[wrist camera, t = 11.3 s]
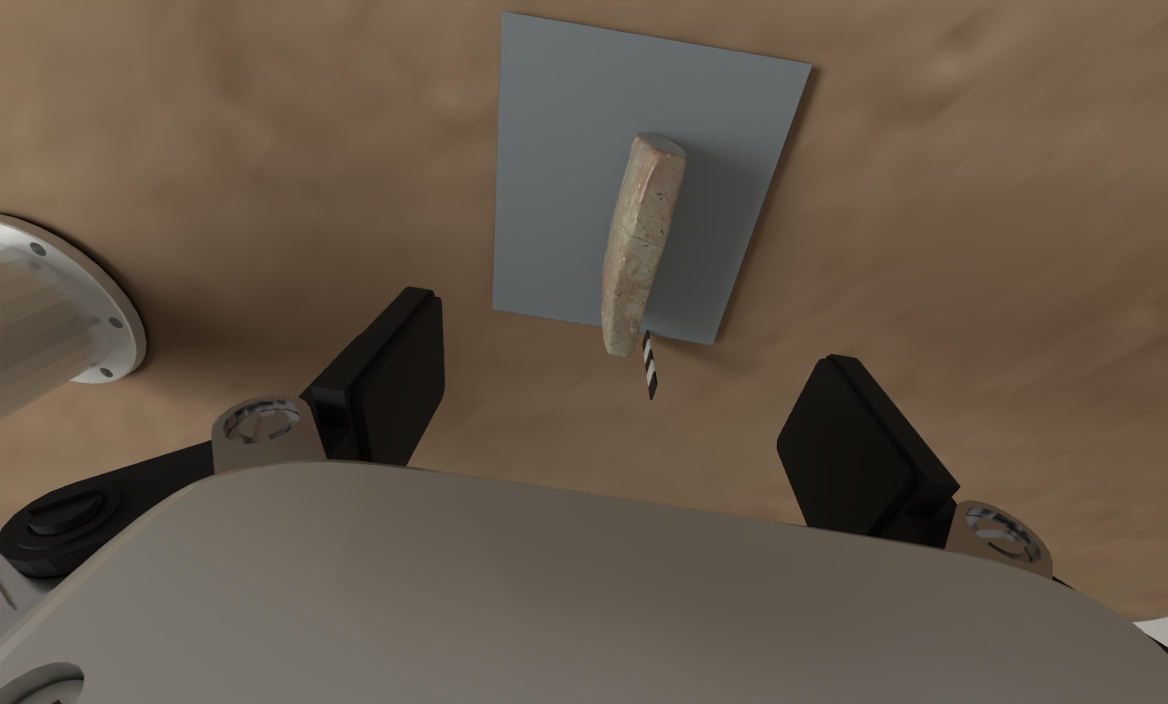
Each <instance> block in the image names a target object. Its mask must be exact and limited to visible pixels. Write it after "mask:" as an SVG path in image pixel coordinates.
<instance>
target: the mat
mask: <svg viewBox="0 0 1168 704" xmlns="http://www.w3.org/2000/svg"><path fill="white" fill-rule="evenodd" d="M811 67H812V64H807V63H801V62H796V61H790V60H784V59H778V58H772V57H766V56H761V55H755V54H749V53H743V52H737V51H731V50H725V49H720V48H714V47H708V46H702V45H696V44H690V43H685V42H679V41H673V40H667V39H661V38H655V37H650V36H644V35H638V34H632V33H626V32H620V31H614V30H609V29H603V28H597V27H591V26H585V25H579V24H574V23H568V22H562V21H556V20H550V19H544V18H539V17H533V16H527V15H521V14H515V13H509V12H503V11H502V19H501V50H500V81H499V112H498V143H497V174H496V205H495V236H494V267H493V298H492V309H493V310H499V311H505V312H512V313H518V314H524V315H530V316H536V317H542V318H548V319H555V320H561V321H567V322H573V323H579V324H585V325H592V326H598V327H602V326H601V305H602V300H601V293H602V282H601V276H602V267H603V262H604V256H605V252H606V248H607V242H608V236H609V230H610V225H611V220H612V216H613V213H614V209H615V205H616V201H617V198H618V194H619V191H620V188H621V184H622V180H623V177H624V174H625V170H626V167H627V163H628V159H629V154H630V151H631V146H632V142H633V139H634V137H635V135H636V134H637V133H639V132H646V133H650V134H657V135H661V136H663V137H666V138H668V139H669V140H670V141H671V142H673V143H675V144H677V145H678V146H680V147H681V148H682V149H683V150H684V151H685V154H686V166H685V171H684V175H683V181H682V184H681V188H680V191H679V194H678V198H677V200H676V204H675V209H674V214H673V217H672V221H671V225H670V229H669V233H668V236H667V240H666V244H665V247H664V249H663V252H662V255H661V258H660V261H659V263H658V268H657V272H656V275H655V278H654V281H653V284H652V287H651V290H650V293H649V296H648V299H647V304H646V308H645V311H644V315H643V319H642V322H641V325H640V330H639V333H641V334H645V333H646V330H648V331H649V335H653V336H659V337H665V338H672V339H678V340H684V341H690V342H696V343H702V344H709V345H713V342H714V339H715V336H716V334H717V331H718V328H719V325H720V322H721V319H722V317H723V314H724V311H725V308H726V305H727V303H728V300H729V297H730V294H731V291H732V289H733V286H734V283H735V280H736V277H737V275H738V272H739V269H740V266H741V263H742V261H743V258H744V255H745V252H746V249H747V247H748V244H749V241H750V238H751V235H752V233H753V230H754V227H755V224H756V221H757V219H758V216H759V213H760V210H761V207H762V204H763V202H764V199H765V196H766V193H767V190H768V188H769V185H770V182H771V179H772V176H773V174H774V171H775V168H776V165H777V162H778V160H779V157H780V154H781V151H782V148H783V146H784V143H785V140H786V137H787V134H788V132H789V129H790V126H791V123H792V120H793V118H794V115H795V112H796V109H797V106H798V104H799V101H800V98H801V95H802V92H803V90H804V87H805V84H806V81H807V78H808V75H809V73H810V70H811Z"/></svg>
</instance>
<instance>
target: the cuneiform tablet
mask: <svg viewBox="0 0 1168 704" xmlns="http://www.w3.org/2000/svg"><path fill="white" fill-rule="evenodd" d="M685 166H686V154H685V151H684V150H683V149H682V148H681V147H680V146H678V145H677V144H675V143H673V142H671V141H670V140H669V139H668V138H666V137H663V136H661V135H657V134H650V133H646V132H639V133H637V134H636V135H635V137H634V139H633V142H632V146H631V151H630V154H629V159H628V163H627V167H626V170H625V174H624V177H623V180H622V184H621V188H620V191H619V194H618V198H617V201H616V205H615V209H614V213H613V216H612V220H611V225H610V230H609V236H608V242H607V248H606V252H605V256H604V262H603V267H602V276H601V282H602V293H601V300H602V305H601V326H602V329H603V338H604V344H605V347H606V350H607V352H608V353H609V354H610V355H617V356H618V357H621V358H627V357H630V356H631V355H632V354H633V353H634V351H635V347H636V344H637V340H638V335H639V330H640V325H641V322H642V319H643V315H644V311H645V308H646V304H647V299H648V296H649V293H650V290H651V287H652V284H653V281H654V278H655V275H656V272H657V268H658V263H659V261H660V258H661V255H662V252H663V249H664V247H665V244H666V240H667V236H668V233H669V229H670V225H671V221H672V217H673V214H674V209H675V204H676V200H677V198H678V194H679V191H680V188H681V184H682V181H683V175H684V171H685ZM642 345H643V352H644V360H645V367H646V374H647V381H648V388H649V396H650V400H652V399H653V396H654V393H655V390H656V387H657V378H656V372H655V366H654V360H653V354H652V349H651V343H650V337H649V331H648V330H646V333H645V337H644V340H643V344H642Z"/></svg>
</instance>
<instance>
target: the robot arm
mask: <svg viewBox="0 0 1168 704" xmlns="http://www.w3.org/2000/svg"><path fill="white" fill-rule="evenodd" d="M145 354H146V337H145V332H144V327H143V325H142V323H141V320H140V318H139V315H138V313H137V312H136V310H135V308H134V307H133V305H132V303H131V302H130V300H129V298H128V297H127V296H126V295H125V293H124V292H123V291H122V290H121V289H120V287H119V286H118V285H117V284H116V282H115V281H114V280H113V279H112V278H111V277H110V276H109V275H108V274H107V273H106V272H105V271H104V270H103V269H102V268H101V267H100V266H98V265H97V264H96V263H95V262H93V261H92V260H91V259H90V258H88V257H87V256H86V255H85V254H84V253H82V252H81V251H79V250H78V249H76V248H75V247H73V246H72V245H70V244H69V243H67V242H66V241H64V240H63V239H61V238H59V237H57V236H56V235H54V234H52V233H50V232H48V231H46V230H44V229H42V228H40V227H38V226H35V225H33V224H30V223H28V222H25V221H23V220H20V219H17V218H14V217H10V216H6V215H1V214H0V420H1V419H3V418H5V417H7V416H8V415H10V414H12V413H14V412H15V411H17V410H19V409H21V408H22V407H24V406H26V405H28V404H29V403H31V402H33V401H35V400H36V399H38V398H40V397H42V396H43V395H45V394H47V393H49V392H50V391H52V390H54V389H56V388H57V387H59V386H61V385H63V384H64V383H66V382H68V381H70V380H71V381H75V382H82V383H93V384H98V383H109V382H112V381H115V380H118V379H121V378H122V377H124V376H126V375H127V374H129V373H130V372H132V371H134V370H135V369H136V368H137V367H138V366H139V365H140V364H141V363H142V361H143V358H144V356H145ZM444 389H445V374H444V347H443V320H442V301H441V298H440V297H435V295H434V292H433V291H432V290H428V289H421V288H415V287H407V288H405V289H404V290H403V291H402V292H401V293H400V295H399V296H398V297H397V298H396V299H395V300H394V301H393V302H392V303H391V304H390V305H389V306H388V307H387V308H386V309H385V310H384V311H383V312H382V313H381V314H380V315H379V316H378V317H377V318H376V319H375V320H374V321H373V323H372V324H371V325H370V326H369V327H368V328H367V329H366V330H365V331H364V332H363V333H361V334H360V335H358V336H357V337H356V338H355V339H354V340H353V341H352V342H351V343H350V344H349V345H348V346H347V347H346V348H345V349H344V350H343V351H342V352H341V353H340V354H339V355H338V357H337V358H336V359H335V360H334V361H333V362H332V363H331V364H330V365H329V366H328V367H327V368H326V369H325V370H324V371H323V372H322V373H321V374H320V375H319V376H318V377H317V378H316V379H315V380H314V381H313V382H312V383H311V384H310V385H309V386H308V387H307V388H306V389H305V390H304V391H303V393H302V394H301V395H300V396H299V397H296V396H291V395H287V394H270V395H264V396H258V397H255V398H252V399H248V400H245V401H243V402H241V403H239V404H237V405H235V406H233V407H231V408H229V409H228V410H227V411H225V412H224V413H223V414H221V415H220V416H219V417H218V419H217V420H216V421H215V423H214V424H213V427H212V431H211V439H212V440H210V441H207V442H204V443H200V444H197V445H194V446H191V447H188V448H184V449H181V450H178V451H175V452H172V453H168V454H165V455H162V456H159V457H155V458H152V459H149V460H146V461H143V462H139V463H136V464H133V465H130V466H127V467H123V468H120V469H117V470H114V471H111V472H107V473H104V474H101V475H98V476H95V477H91V478H88V479H85V480H82V481H79V482H75V483H72V484H69V485H67V486H64V487H62V488H59V489H56V490H54V491H51V492H49V493H47V494H46V495H44V496H42V497H40V498H38V499H36V500H34V501H33V502H31V503H30V504H28V505H27V506H25V507H24V508H23V509H21V510H20V511H19V512H17V513H16V514H15V515H14V516H13V517H12V518H11V519H10V520H9V521H8V522H7V523H6V524H5V525H4V527H3V528H2V529H1V531H0V704H1168V647H1166V646H1165V645H1163V644H1162V643H1160V642H1158V641H1157V640H1155V639H1154V638H1152V637H1150V636H1149V635H1147V634H1145V633H1144V632H1143V631H1142V630H1141V629H1140V628H1138V627H1137V626H1136V625H1134V624H1133V623H1132V622H1131V621H1129V620H1128V619H1126V618H1125V617H1123V616H1122V615H1120V614H1119V613H1117V612H1115V611H1113V610H1112V609H1110V608H1108V607H1106V606H1105V605H1103V604H1101V603H1099V602H1098V601H1096V600H1094V599H1092V598H1090V597H1088V596H1086V595H1084V594H1082V593H1080V592H1078V591H1076V590H1075V589H1073V588H1072V587H1070V586H1068V585H1067V584H1065V583H1064V582H1062V581H1060V580H1059V579H1057V578H1056V577H1054V576H1052V574H1053V562H1052V558H1051V554H1050V552H1049V550H1048V549H1047V547H1046V546H1045V544H1044V543H1043V541H1042V540H1041V539H1040V538H1039V537H1038V536H1037V535H1036V534H1035V533H1034V532H1033V531H1032V530H1031V529H1029V528H1028V527H1027V526H1026V525H1024V524H1023V523H1022V522H1021V521H1019V520H1018V519H1016V518H1014V517H1013V516H1011V515H1010V514H1008V513H1006V512H1005V511H1003V510H1000V509H998V508H996V507H994V506H992V505H989V504H986V503H982V502H979V501H970V500H967V501H963V502H960V503H959V504H958V505H957V503H956V502H955V501H954V499H953V498H952V496H953V495H954V494H955V493H956V491H957V490H958V489H959V488H960V487H961V486H960V485H959V484H958V483H957V482H956V480H955V479H954V478H953V477H952V475H951V474H950V473H949V472H948V470H947V469H946V468H945V467H944V465H943V464H942V463H941V462H940V460H939V459H938V458H937V457H936V455H935V454H934V453H933V452H932V450H931V449H930V448H929V447H928V445H927V444H926V443H925V442H924V440H923V439H922V438H921V437H920V435H919V434H918V433H917V432H916V431H915V429H914V428H913V427H912V426H911V424H910V423H909V422H908V421H907V419H906V418H905V417H904V416H903V414H902V413H901V412H900V411H899V409H898V408H897V407H896V406H895V404H894V403H893V402H892V401H891V399H890V398H889V397H888V396H887V394H886V393H885V392H884V391H883V389H882V388H881V387H880V386H879V384H878V383H877V382H876V381H875V380H874V378H873V377H872V376H871V375H870V373H869V372H868V371H867V370H866V368H865V367H864V366H863V365H862V363H861V362H860V361H859V360H858V359H857V358H854V357H847V356H841V355H835V354H830V355H828V356H827V357H826V358H825V359H820V360H819V361H818V362H817V364H816V366H815V368H814V369H813V371H812V373H811V375H810V377H809V379H808V381H807V383H806V385H805V387H804V389H803V391H802V392H801V394H800V396H799V398H798V400H797V402H796V404H795V406H794V408H793V410H792V412H791V414H790V415H789V417H788V419H787V421H786V423H785V425H784V427H783V429H782V431H781V433H780V435H779V437H778V439H777V451H778V454H779V457H780V459H781V462H782V464H783V467H784V469H785V472H786V474H787V477H788V479H789V481H790V484H791V486H792V489H793V491H794V494H795V496H796V499H797V501H798V504H799V506H800V509H801V511H802V514H803V516H804V519H805V521H806V524H807V526H801V525H795V524H789V523H782V522H776V521H770V520H763V519H757V518H750V517H744V516H737V515H731V514H725V513H718V512H711V511H705V510H698V509H692V508H685V507H679V506H672V505H666V504H659V503H653V502H646V501H639V500H633V499H626V498H620V497H613V496H606V495H600V494H593V493H587V492H580V491H573V490H566V489H560V488H553V487H546V486H539V485H532V484H526V483H519V482H512V481H505V480H498V479H492V478H485V477H478V476H471V475H464V474H458V473H451V472H444V471H437V470H430V469H424V468H416V467H407V466H406V465H407V463H408V461H409V460H410V458H411V456H412V454H413V452H414V450H415V448H416V447H417V445H418V443H419V441H420V439H421V437H422V435H423V433H424V432H425V430H426V428H427V426H428V424H429V422H430V420H431V419H432V417H433V415H434V413H435V411H436V409H437V407H438V406H439V404H440V402H441V400H442V398H443V394H444Z"/></svg>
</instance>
